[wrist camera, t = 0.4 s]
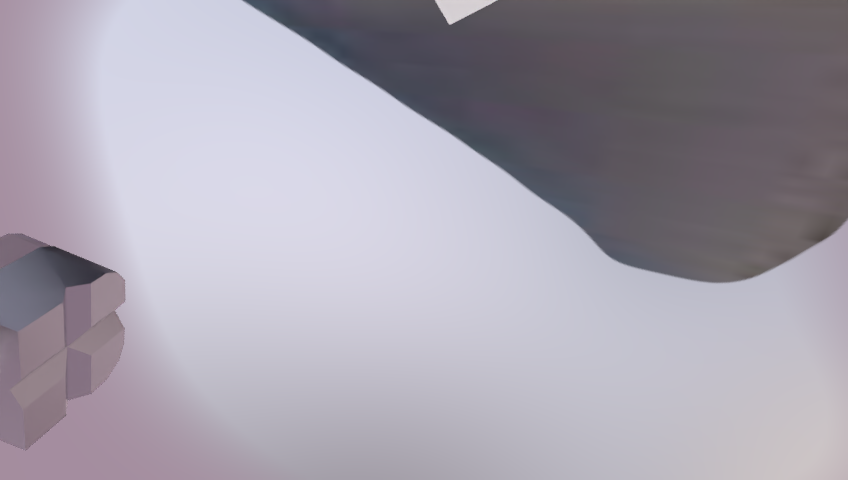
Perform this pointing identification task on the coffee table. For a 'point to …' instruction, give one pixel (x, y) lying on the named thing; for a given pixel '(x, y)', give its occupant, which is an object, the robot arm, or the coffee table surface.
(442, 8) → the mat
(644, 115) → the coffee table surface
